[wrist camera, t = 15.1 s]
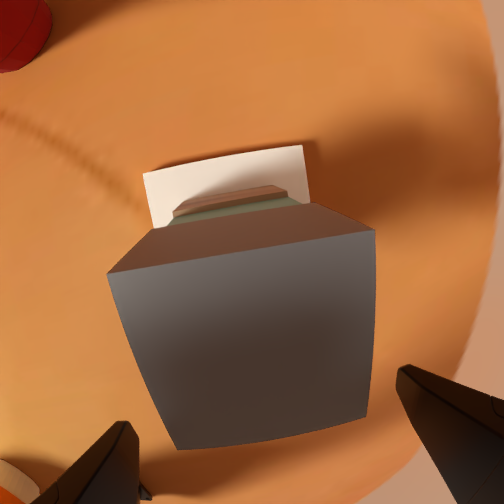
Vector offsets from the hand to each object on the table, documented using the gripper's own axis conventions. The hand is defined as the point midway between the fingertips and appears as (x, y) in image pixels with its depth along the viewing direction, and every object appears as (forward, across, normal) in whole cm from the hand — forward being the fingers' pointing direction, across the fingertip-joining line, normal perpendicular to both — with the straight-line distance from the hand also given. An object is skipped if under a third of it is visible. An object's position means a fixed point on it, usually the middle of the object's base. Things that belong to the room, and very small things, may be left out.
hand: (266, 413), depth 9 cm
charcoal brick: (+2, 0, -3) cm, 4 cm away
